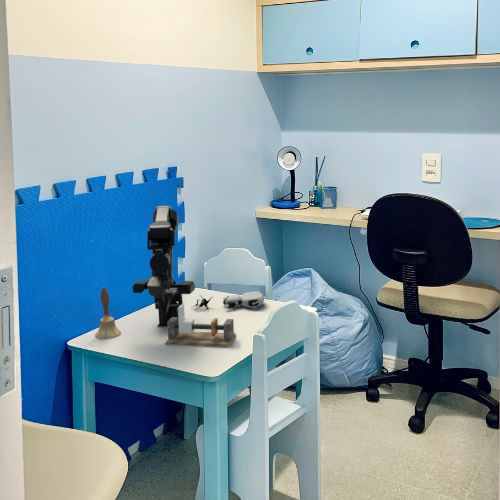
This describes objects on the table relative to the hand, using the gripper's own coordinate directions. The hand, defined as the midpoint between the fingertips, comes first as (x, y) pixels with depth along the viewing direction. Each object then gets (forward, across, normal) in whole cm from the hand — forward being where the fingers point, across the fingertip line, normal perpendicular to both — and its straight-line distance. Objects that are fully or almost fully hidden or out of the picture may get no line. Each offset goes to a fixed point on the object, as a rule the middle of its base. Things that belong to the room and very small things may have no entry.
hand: (165, 313), depth 203 cm
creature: (+9, +3, +31) cm, 32 cm away
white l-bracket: (+6, +7, 0) cm, 9 cm away
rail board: (+8, +11, 0) cm, 14 cm away
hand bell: (+9, -21, +2) cm, 23 cm away
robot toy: (+9, +17, +37) cm, 42 cm away
